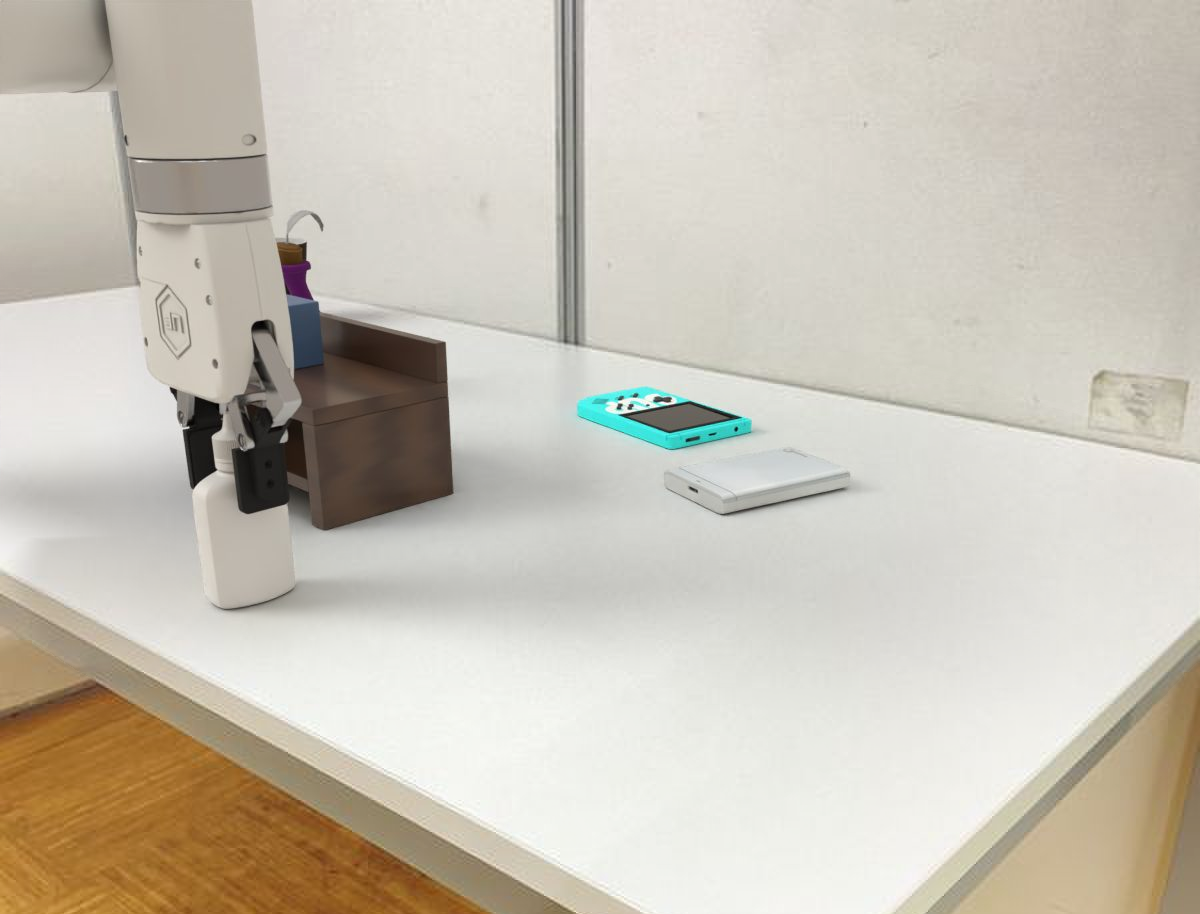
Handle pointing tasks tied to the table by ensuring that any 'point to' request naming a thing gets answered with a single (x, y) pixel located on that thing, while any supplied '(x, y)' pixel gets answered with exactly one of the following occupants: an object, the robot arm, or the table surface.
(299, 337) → the blue block
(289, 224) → the perfume bottle
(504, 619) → the table surface
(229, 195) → the robot arm
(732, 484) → the hard drive
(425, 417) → the rack
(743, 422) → the handheld game console
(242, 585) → the eye dropper bottle
